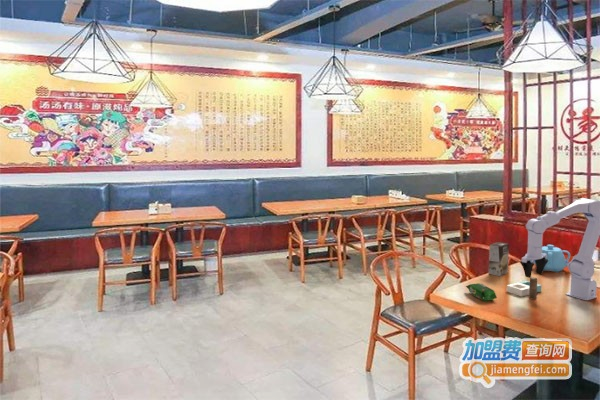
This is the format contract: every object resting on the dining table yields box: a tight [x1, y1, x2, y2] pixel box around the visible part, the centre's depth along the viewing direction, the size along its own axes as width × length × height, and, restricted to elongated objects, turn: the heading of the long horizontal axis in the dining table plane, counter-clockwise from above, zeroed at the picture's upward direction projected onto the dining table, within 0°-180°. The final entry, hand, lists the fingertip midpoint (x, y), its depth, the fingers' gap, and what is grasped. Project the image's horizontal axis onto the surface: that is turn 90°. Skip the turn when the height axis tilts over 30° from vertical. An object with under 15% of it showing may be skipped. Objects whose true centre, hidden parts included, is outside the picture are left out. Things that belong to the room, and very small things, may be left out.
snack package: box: [465, 283, 498, 302], centre depth 205 cm, size 7×16×5 cm, turn 10°
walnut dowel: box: [528, 276, 538, 300], centre depth 201 cm, size 3×3×9 cm
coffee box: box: [488, 241, 510, 277], centre depth 238 cm, size 9×6×16 cm
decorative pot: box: [530, 244, 571, 273], centre depth 242 cm, size 16×16×14 cm
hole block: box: [506, 280, 542, 297], centre depth 210 cm, size 8×14×3 cm, turn 117°
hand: (533, 275), depth 201 cm, fingers open, 7 cm apart
